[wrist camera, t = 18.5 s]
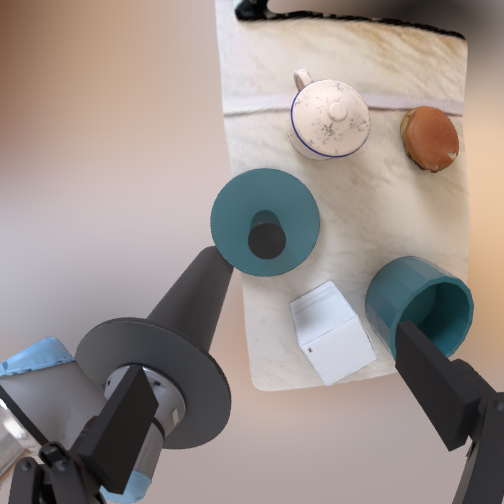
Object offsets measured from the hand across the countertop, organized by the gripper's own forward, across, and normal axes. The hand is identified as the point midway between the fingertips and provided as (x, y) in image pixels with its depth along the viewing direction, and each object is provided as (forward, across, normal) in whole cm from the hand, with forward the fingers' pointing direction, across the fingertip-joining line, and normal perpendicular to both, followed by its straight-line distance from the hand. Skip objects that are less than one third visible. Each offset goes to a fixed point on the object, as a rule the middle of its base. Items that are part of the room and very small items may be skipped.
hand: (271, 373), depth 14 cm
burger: (+29, +27, +12) cm, 41 cm away
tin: (+29, +21, -12) cm, 37 cm away
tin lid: (+28, +1, +4) cm, 29 cm away
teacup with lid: (+29, +10, +16) cm, 35 cm away
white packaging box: (+29, +7, -11) cm, 32 cm away
